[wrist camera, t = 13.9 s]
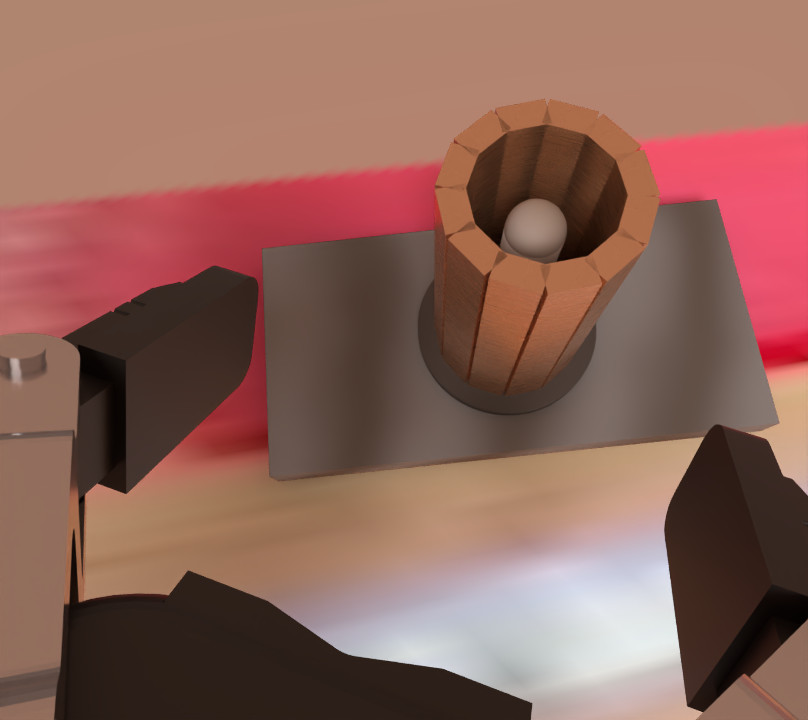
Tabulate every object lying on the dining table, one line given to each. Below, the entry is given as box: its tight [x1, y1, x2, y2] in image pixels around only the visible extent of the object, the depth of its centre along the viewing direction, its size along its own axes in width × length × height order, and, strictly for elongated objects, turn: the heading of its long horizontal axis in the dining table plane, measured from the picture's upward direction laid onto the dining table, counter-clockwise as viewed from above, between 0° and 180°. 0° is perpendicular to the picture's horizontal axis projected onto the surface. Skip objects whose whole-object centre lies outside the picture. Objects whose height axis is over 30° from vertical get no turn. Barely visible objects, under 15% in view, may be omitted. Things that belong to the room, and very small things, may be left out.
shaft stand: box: [262, 199, 779, 481], centre depth 23 cm, size 20×10×11 cm, turn 96°
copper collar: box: [434, 99, 660, 396], centre depth 22 cm, size 6×6×10 cm
